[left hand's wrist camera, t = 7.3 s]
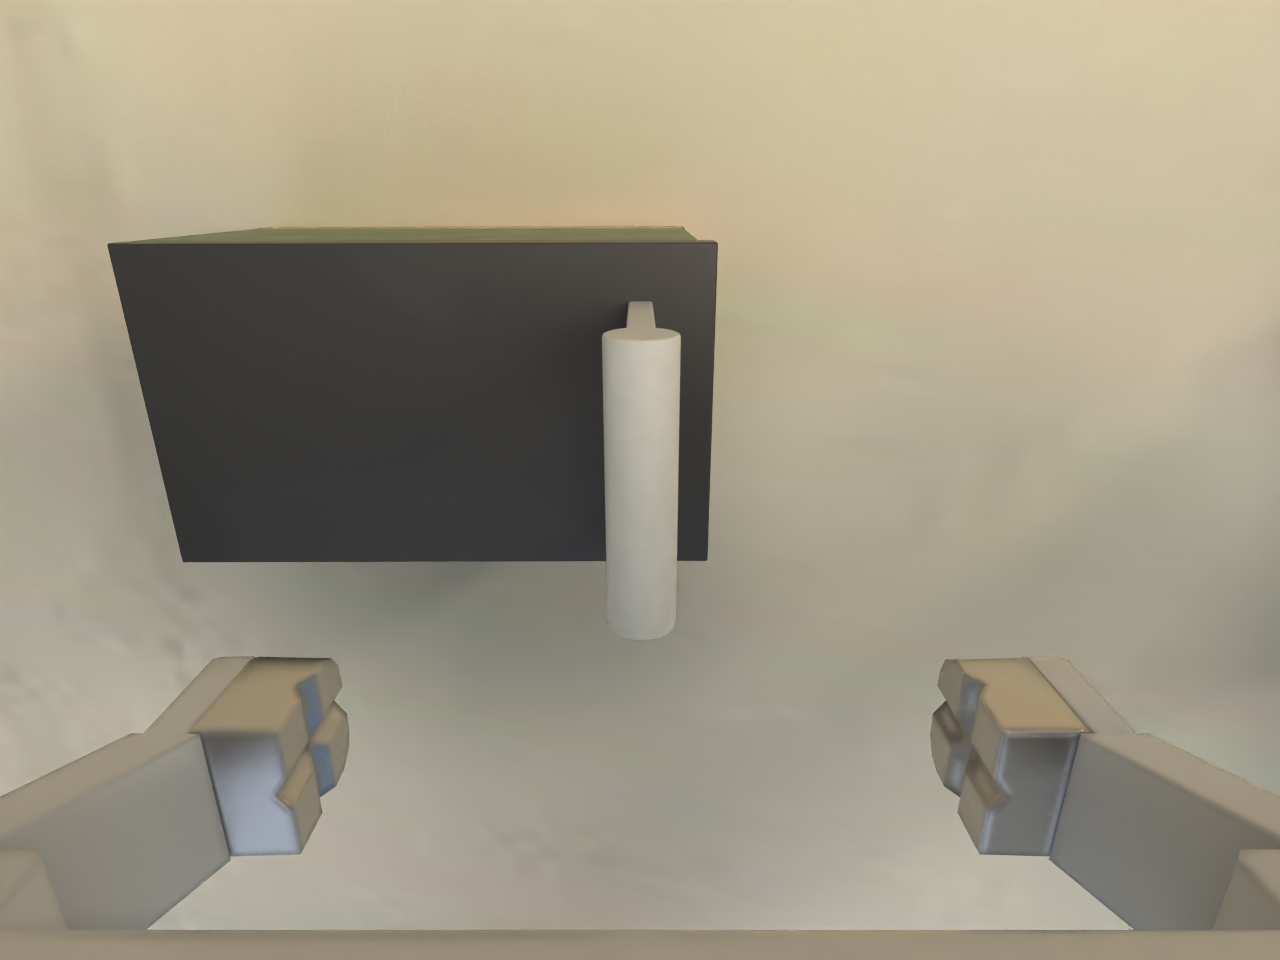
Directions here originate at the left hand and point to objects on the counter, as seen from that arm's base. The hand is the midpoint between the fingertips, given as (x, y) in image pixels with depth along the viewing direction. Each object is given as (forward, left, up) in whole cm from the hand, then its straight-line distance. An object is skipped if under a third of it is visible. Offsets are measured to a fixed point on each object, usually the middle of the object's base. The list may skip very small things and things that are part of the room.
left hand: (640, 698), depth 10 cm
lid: (+3, -6, -15) cm, 16 cm away
